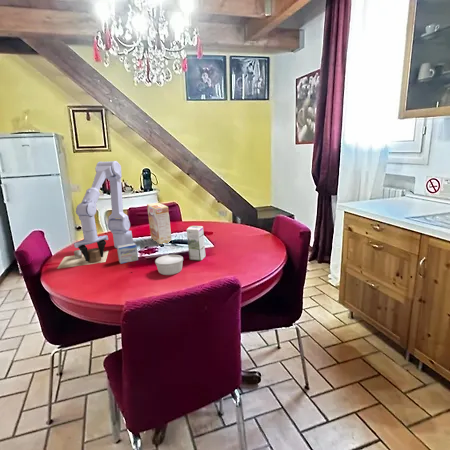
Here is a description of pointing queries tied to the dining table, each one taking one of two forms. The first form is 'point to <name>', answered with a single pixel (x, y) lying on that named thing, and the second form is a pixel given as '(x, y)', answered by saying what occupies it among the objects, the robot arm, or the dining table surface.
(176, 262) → the ramekin
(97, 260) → the walnut cap
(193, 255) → the syrup box
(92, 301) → the dining table surface
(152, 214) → the coffeecake box
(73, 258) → the post board
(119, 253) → the medicine box
